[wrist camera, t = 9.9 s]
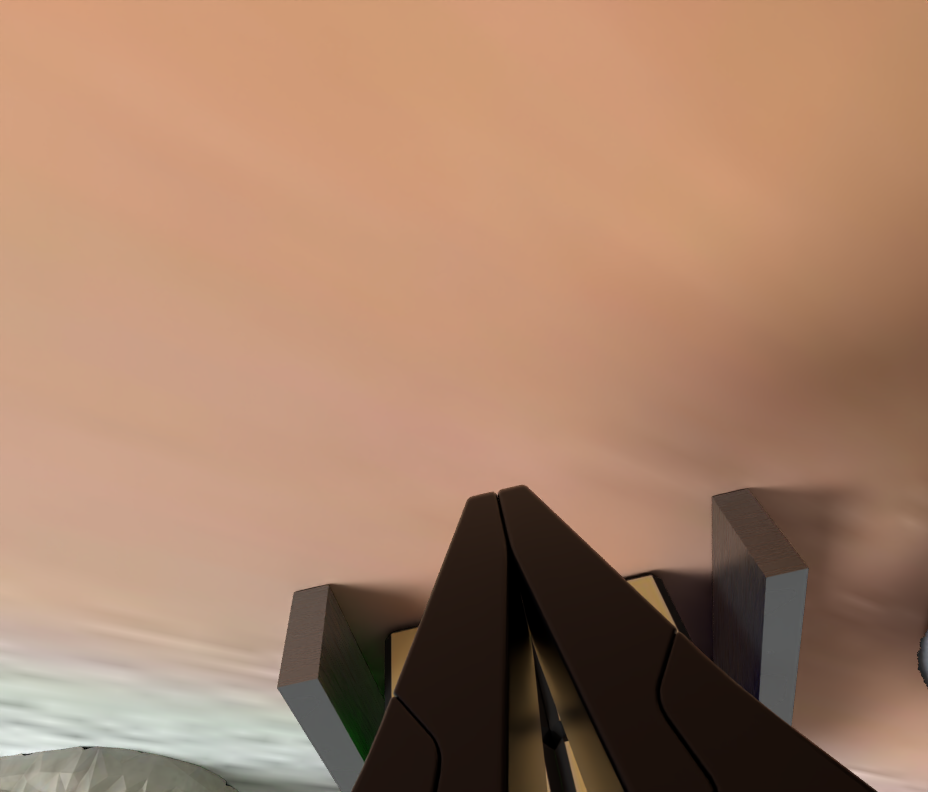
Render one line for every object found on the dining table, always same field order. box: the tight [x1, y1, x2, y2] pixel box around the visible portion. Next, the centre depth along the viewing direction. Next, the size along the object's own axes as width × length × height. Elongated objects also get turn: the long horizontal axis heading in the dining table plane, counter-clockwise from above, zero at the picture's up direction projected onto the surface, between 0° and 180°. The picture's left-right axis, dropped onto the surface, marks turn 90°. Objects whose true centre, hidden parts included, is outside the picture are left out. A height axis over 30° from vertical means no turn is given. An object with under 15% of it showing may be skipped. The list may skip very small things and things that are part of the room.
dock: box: [277, 489, 809, 792], centre depth 23 cm, size 15×14×4 cm
